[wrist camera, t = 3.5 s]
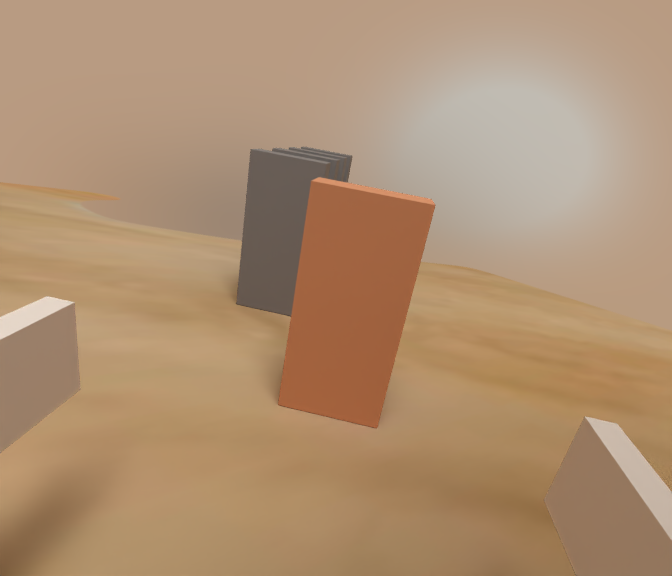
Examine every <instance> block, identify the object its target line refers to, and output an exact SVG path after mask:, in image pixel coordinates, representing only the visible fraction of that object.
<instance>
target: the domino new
mask: <svg viewBox="0 0 672 576" xmlns="http://www.w3.org/2000/svg"><path fill="white" fill-rule="evenodd" d="M434 209H435V204H434V202H433V201H432V199H428V198H423V197H418V196H413V195H408V194H403V193H397V192H392V191H387V190H382V189H376V188H372V187H367V186H362V185H356V184H351V183H346V182H341V181H336V180H331V179H326V178H321V177H318V178H316V179H314V180H312V181H311V186H310V192H309V199H308V206H307V213H306V219H305V226H304V233H303V240H302V246H301V253H300V260H299V267H298V273H297V280H296V287H295V294H294V301H293V307H292V314H291V321H290V328H289V334H288V341H287V348H286V355H285V361H284V368H283V375H282V382H281V388H280V395H279V402H278V405H281V406H285V407H289V408H293V409H297V410H302V411H306V412H310V413H314V414H319V415H323V416H327V417H331V418H335V419H340V420H344V421H348V422H352V423H357V424H361V425H365V426H369V427H373V428H377V426H378V422H379V418H380V414H381V411H382V407H383V403H384V399H385V395H386V391H387V388H388V384H389V380H390V376H391V372H392V369H393V365H394V361H395V357H396V353H397V350H398V346H399V342H400V338H401V334H402V331H403V327H404V323H405V319H406V315H407V312H408V308H409V304H410V300H411V296H412V293H413V289H414V285H415V281H416V277H417V273H418V270H419V266H420V262H421V258H422V254H423V251H424V247H425V243H426V239H427V235H428V232H429V228H430V224H431V220H432V216H433V212H434Z"/></svg>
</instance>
